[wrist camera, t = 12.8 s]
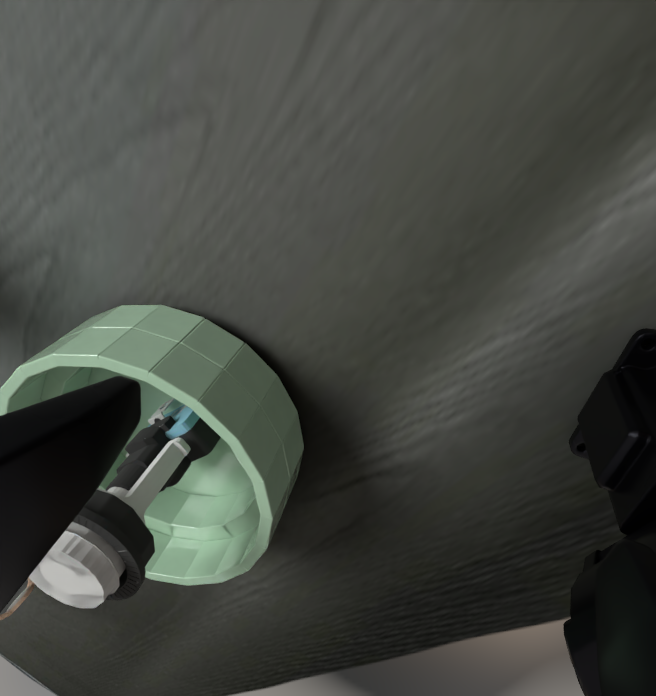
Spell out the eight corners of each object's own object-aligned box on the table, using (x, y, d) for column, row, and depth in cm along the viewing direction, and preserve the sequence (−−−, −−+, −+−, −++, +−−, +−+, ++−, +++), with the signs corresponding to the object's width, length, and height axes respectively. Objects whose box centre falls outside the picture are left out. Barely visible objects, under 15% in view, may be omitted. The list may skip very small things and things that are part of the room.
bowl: (328, 347, 23) (292, 417, 19) (286, 535, 31) (253, 618, 26) (59, 266, 25) (-34, 313, 20) (82, 464, 33) (18, 530, 28)
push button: (173, 473, 30) (56, 635, 21) (112, 407, 28) (-40, 554, 20) (253, 438, 27) (152, 611, 18) (189, 362, 25) (48, 513, 17)
